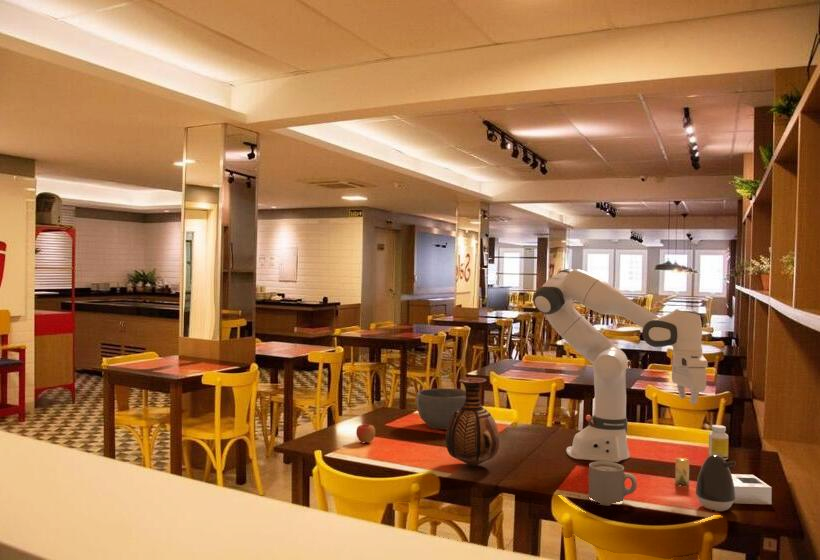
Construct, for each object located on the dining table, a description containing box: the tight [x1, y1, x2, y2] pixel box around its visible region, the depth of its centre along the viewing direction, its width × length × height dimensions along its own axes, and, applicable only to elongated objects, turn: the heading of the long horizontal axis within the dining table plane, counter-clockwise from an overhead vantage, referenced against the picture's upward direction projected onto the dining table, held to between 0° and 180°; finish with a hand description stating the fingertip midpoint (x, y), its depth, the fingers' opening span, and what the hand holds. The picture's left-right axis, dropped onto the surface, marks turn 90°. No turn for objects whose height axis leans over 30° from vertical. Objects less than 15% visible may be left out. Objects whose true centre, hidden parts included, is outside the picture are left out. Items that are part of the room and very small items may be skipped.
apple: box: [356, 422, 376, 443], centre depth 256 cm, size 7×7×8 cm
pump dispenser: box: [695, 455, 737, 512], centre depth 189 cm, size 10×10×15 cm
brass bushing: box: [674, 457, 690, 487], centre depth 210 cm, size 4×4×8 cm
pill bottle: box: [708, 424, 729, 461], centre depth 241 cm, size 6×6×12 cm
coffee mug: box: [588, 461, 638, 507], centre depth 195 cm, size 13×10×10 cm
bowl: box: [415, 387, 466, 430], centre depth 283 cm, size 24×24×15 cm
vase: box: [445, 377, 500, 468], centre depth 227 cm, size 21×18×30 cm
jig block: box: [731, 473, 773, 505], centre depth 199 cm, size 14×12×5 cm
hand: (687, 400), depth 216 cm, fingers open, 8 cm apart
